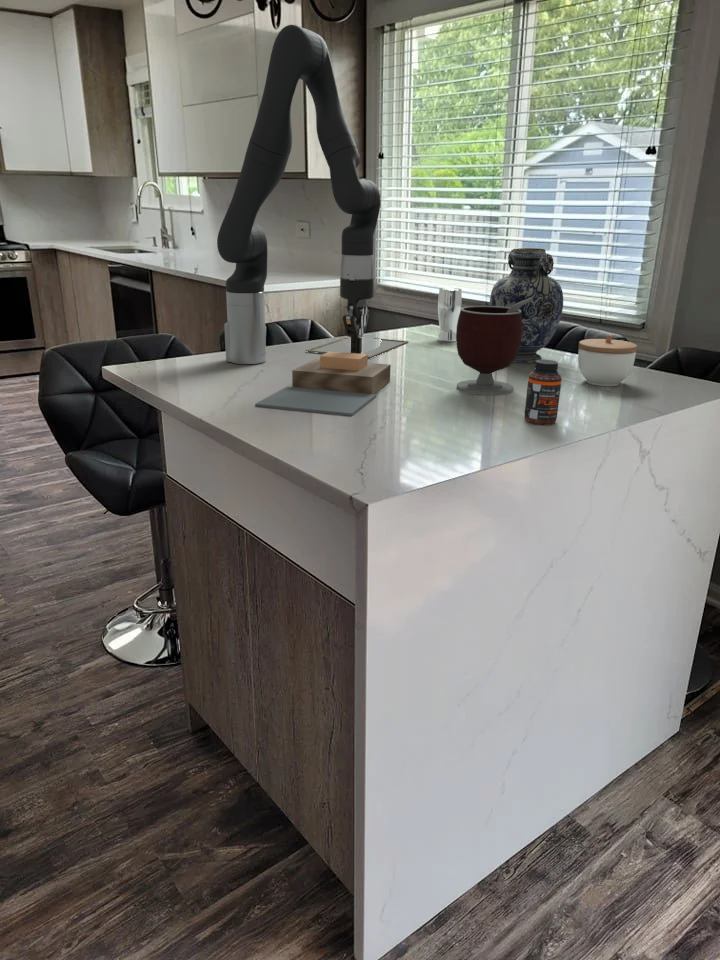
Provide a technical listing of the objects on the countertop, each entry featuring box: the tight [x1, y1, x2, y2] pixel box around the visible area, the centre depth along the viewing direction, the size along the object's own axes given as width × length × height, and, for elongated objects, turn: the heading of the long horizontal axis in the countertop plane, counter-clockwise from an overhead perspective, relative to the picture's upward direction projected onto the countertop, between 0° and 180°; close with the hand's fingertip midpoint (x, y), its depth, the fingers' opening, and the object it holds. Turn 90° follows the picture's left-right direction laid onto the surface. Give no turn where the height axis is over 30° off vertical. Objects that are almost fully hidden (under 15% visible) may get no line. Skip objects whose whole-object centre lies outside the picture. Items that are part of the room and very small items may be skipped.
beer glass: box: [437, 287, 463, 343], centre depth 217 cm, size 7×7×15 cm
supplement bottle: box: [523, 359, 562, 426], centre depth 134 cm, size 6×6×11 cm
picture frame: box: [304, 335, 409, 359], centre depth 206 cm, size 19×1×28 cm
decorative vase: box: [489, 247, 564, 364], centre depth 189 cm, size 21×19×28 cm
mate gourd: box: [455, 298, 533, 396], centre depth 157 cm, size 16×14×20 cm
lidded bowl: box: [577, 334, 638, 387], centre depth 166 cm, size 13×13×11 cm
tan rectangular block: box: [319, 351, 369, 371], centre depth 161 cm, size 9×6×2 cm, turn 72°
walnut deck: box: [291, 358, 391, 394], centre depth 161 cm, size 18×14×4 cm
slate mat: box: [254, 385, 377, 417], centre depth 147 cm, size 20×16×1 cm
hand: (356, 354), depth 168 cm, fingers closed
